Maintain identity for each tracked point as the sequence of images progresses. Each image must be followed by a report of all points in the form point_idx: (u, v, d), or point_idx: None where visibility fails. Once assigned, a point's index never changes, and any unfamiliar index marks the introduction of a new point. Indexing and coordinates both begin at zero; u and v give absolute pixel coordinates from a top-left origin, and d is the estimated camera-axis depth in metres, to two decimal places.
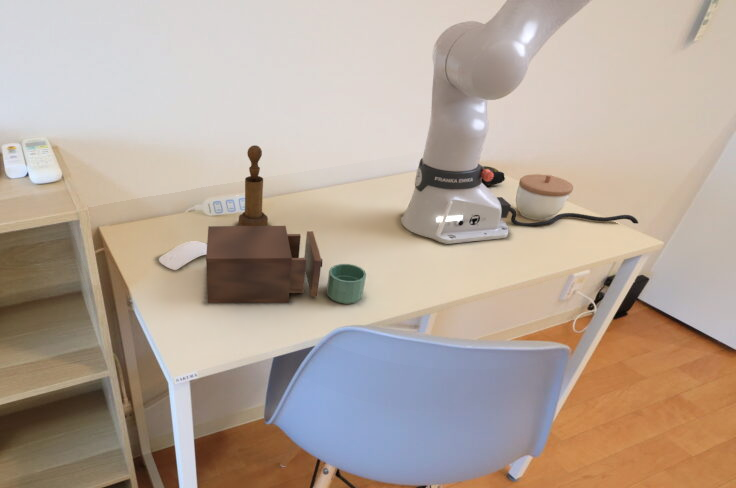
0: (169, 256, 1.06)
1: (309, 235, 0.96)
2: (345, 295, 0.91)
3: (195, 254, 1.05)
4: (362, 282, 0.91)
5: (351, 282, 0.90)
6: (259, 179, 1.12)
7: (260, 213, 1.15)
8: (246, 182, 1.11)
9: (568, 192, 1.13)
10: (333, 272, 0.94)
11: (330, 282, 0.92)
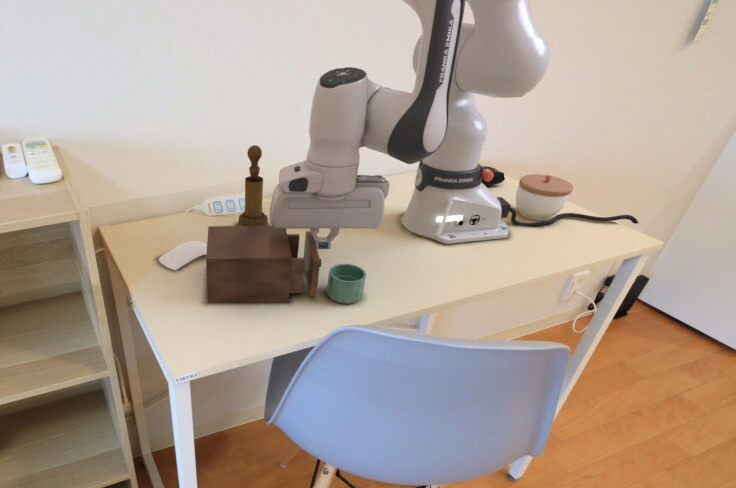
0: (169, 256, 1.06)
1: (308, 235, 0.96)
2: (345, 295, 0.91)
3: (195, 254, 1.05)
4: (362, 282, 0.91)
5: (351, 282, 0.90)
6: (259, 179, 1.12)
7: (260, 213, 1.15)
8: (246, 182, 1.11)
9: (568, 192, 1.13)
10: (333, 272, 0.94)
11: (330, 282, 0.92)
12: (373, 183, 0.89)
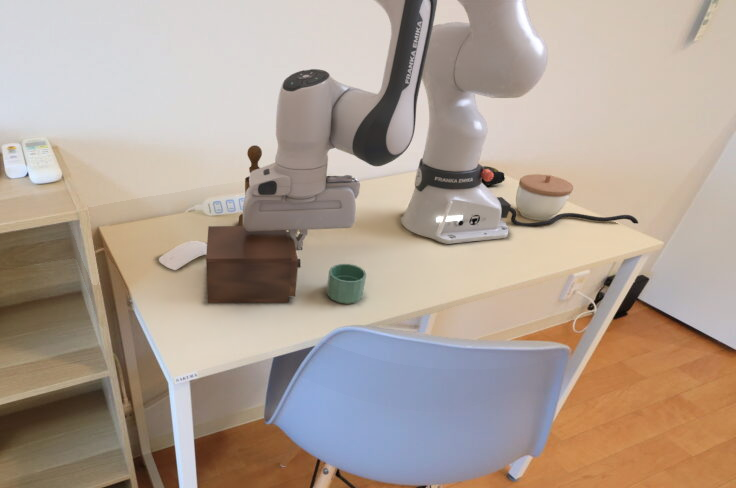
0: (169, 256, 1.06)
1: (287, 235, 0.96)
2: (345, 295, 0.91)
3: (195, 254, 1.05)
4: (362, 282, 0.91)
5: (351, 282, 0.90)
6: None
7: None
8: (246, 182, 1.11)
9: (568, 192, 1.13)
10: (333, 272, 0.94)
11: (330, 282, 0.92)
12: (343, 183, 0.89)
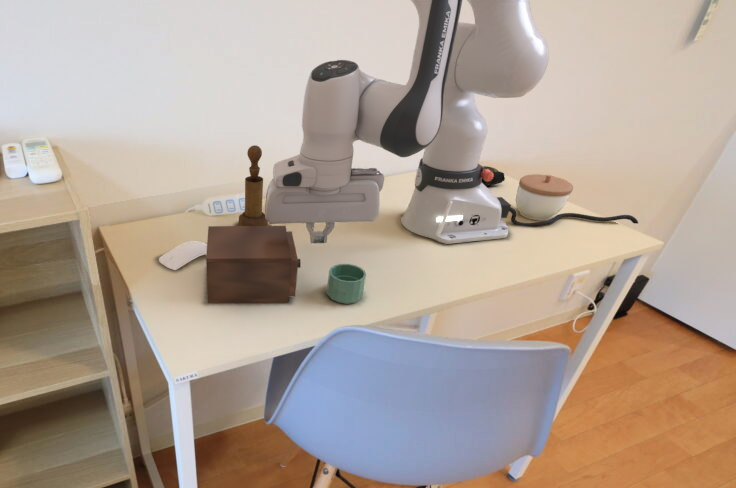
0: (169, 256, 1.06)
1: (287, 235, 0.96)
2: (345, 295, 0.91)
3: (195, 254, 1.05)
4: (362, 282, 0.91)
5: (351, 282, 0.90)
6: (259, 179, 1.12)
7: (260, 213, 1.15)
8: (246, 182, 1.11)
9: (568, 192, 1.13)
10: (333, 272, 0.94)
11: (330, 282, 0.92)
12: (368, 176, 0.89)
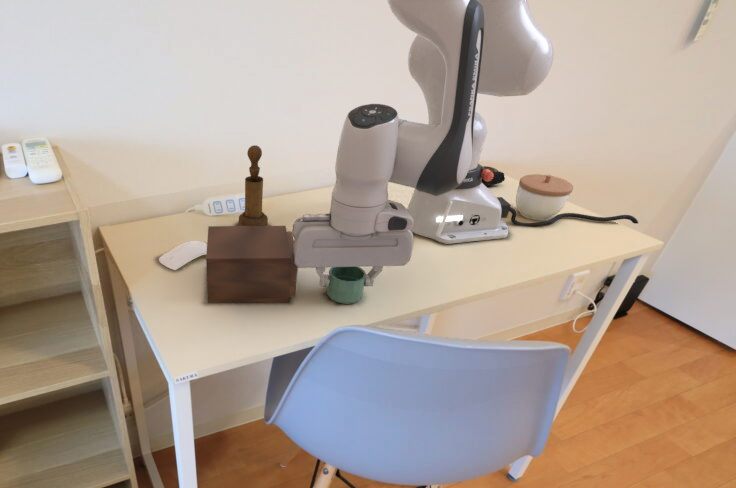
0: (169, 256, 1.06)
1: (287, 235, 0.96)
2: (345, 295, 0.91)
3: (195, 254, 1.05)
4: (362, 282, 0.91)
5: (351, 282, 0.90)
6: (259, 179, 1.12)
7: (260, 213, 1.15)
8: (246, 182, 1.11)
9: (568, 192, 1.13)
10: (333, 272, 0.94)
11: (330, 282, 0.92)
12: None
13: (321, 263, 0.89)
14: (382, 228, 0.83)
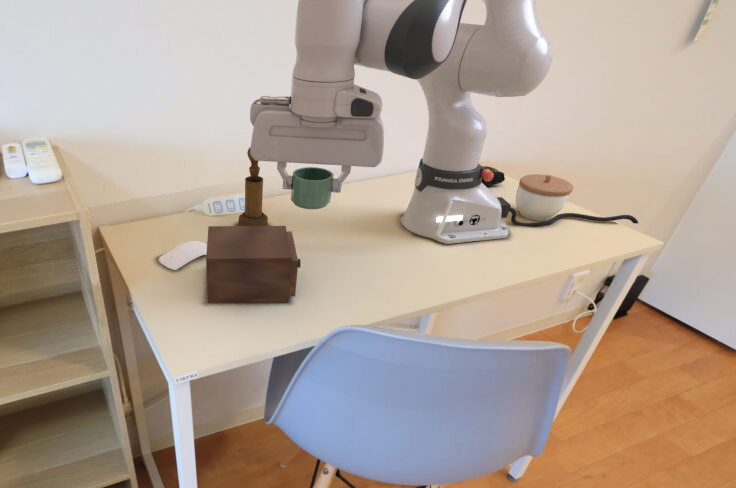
0: (169, 256, 1.06)
1: (287, 235, 0.96)
2: (306, 197, 0.82)
3: (195, 254, 1.05)
4: (326, 184, 0.81)
5: (312, 181, 0.80)
6: (259, 179, 1.12)
7: (260, 213, 1.15)
8: (246, 182, 1.11)
9: (568, 192, 1.13)
10: (300, 175, 0.85)
11: (292, 183, 0.83)
12: None
13: (280, 156, 0.80)
14: (343, 112, 0.73)
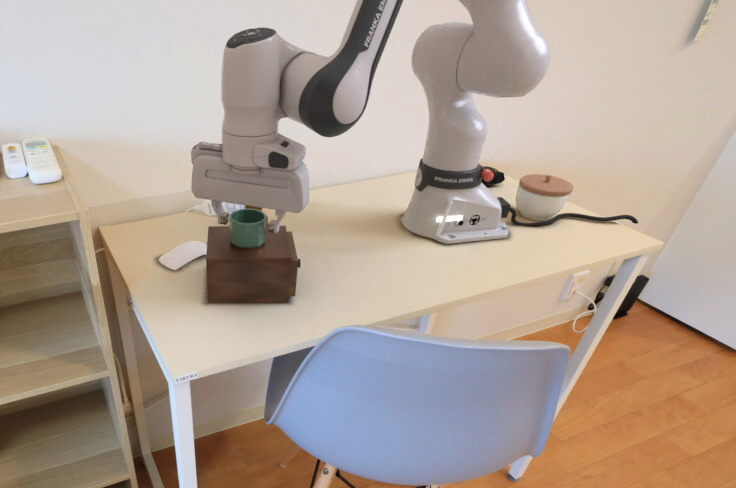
0: (169, 256, 1.06)
1: (287, 235, 0.96)
2: (237, 237, 0.90)
3: (195, 254, 1.05)
4: (255, 227, 0.88)
5: (241, 224, 0.88)
6: None
7: None
8: None
9: (568, 192, 1.13)
10: (240, 215, 0.93)
11: None
12: None
13: (215, 196, 0.88)
14: (262, 163, 0.80)
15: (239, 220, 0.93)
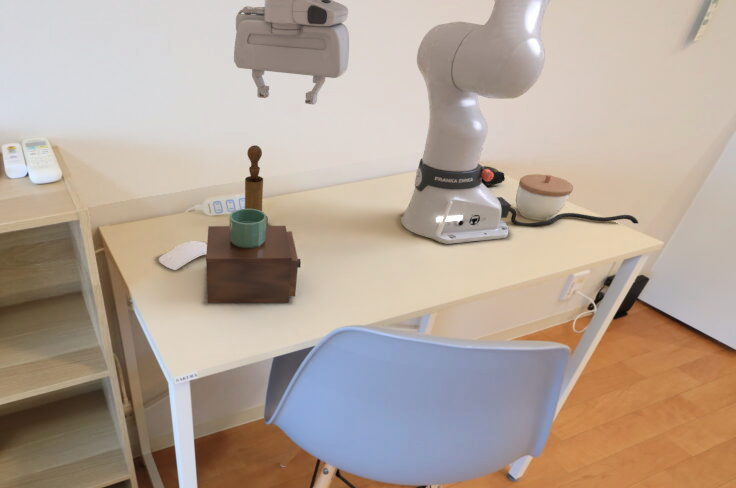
0: (169, 256, 1.06)
1: (287, 235, 0.96)
2: (237, 237, 0.90)
3: (195, 254, 1.05)
4: (255, 227, 0.88)
5: (241, 224, 0.88)
6: (259, 179, 1.12)
7: None
8: (246, 182, 1.11)
9: (568, 192, 1.13)
10: (240, 215, 0.93)
11: None
12: None
13: (256, 64, 0.90)
14: (301, 19, 0.81)
15: (239, 220, 0.93)
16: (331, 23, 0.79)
